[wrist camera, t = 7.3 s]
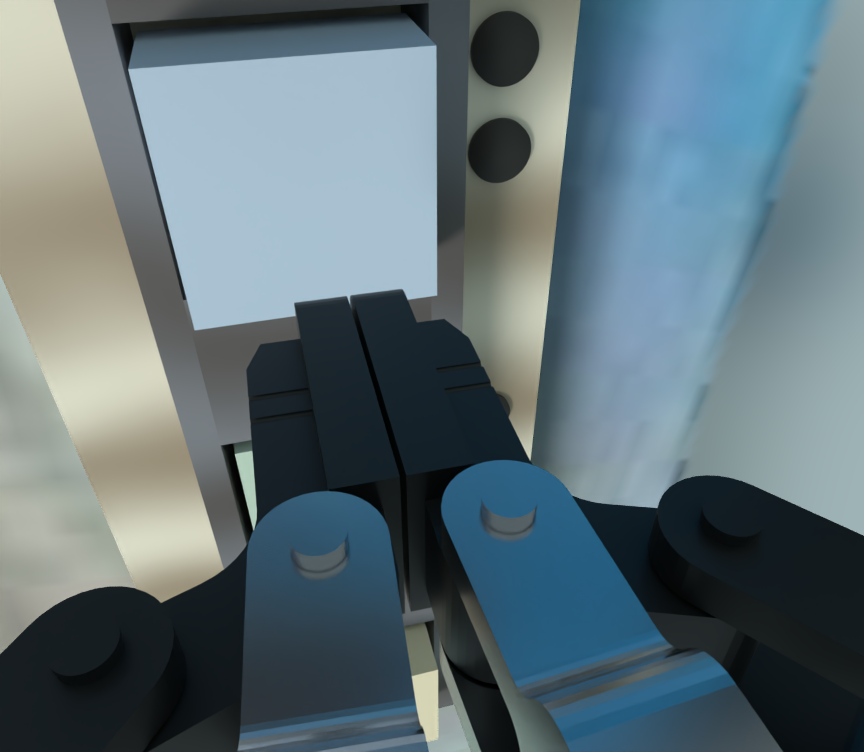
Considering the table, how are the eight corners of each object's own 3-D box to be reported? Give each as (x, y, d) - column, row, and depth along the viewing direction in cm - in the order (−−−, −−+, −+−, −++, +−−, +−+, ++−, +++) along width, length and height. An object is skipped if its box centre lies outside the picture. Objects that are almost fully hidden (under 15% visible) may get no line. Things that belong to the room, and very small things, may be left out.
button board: (489, 595, 36) (528, 701, 32) (195, 663, 33) (196, 787, 29) (544, -163, 17) (656, -148, 13) (-120, -149, 15) (-245, -124, 10)
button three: (423, 681, 30) (438, 739, 28) (300, 711, 29) (307, 773, 27) (421, 610, 27) (438, 669, 25) (283, 641, 26) (290, 705, 24)
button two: (411, 242, 17) (437, 295, 16) (194, 271, 16) (194, 330, 15) (405, 13, 14) (436, 45, 12) (136, 31, 13) (127, 69, 12)
